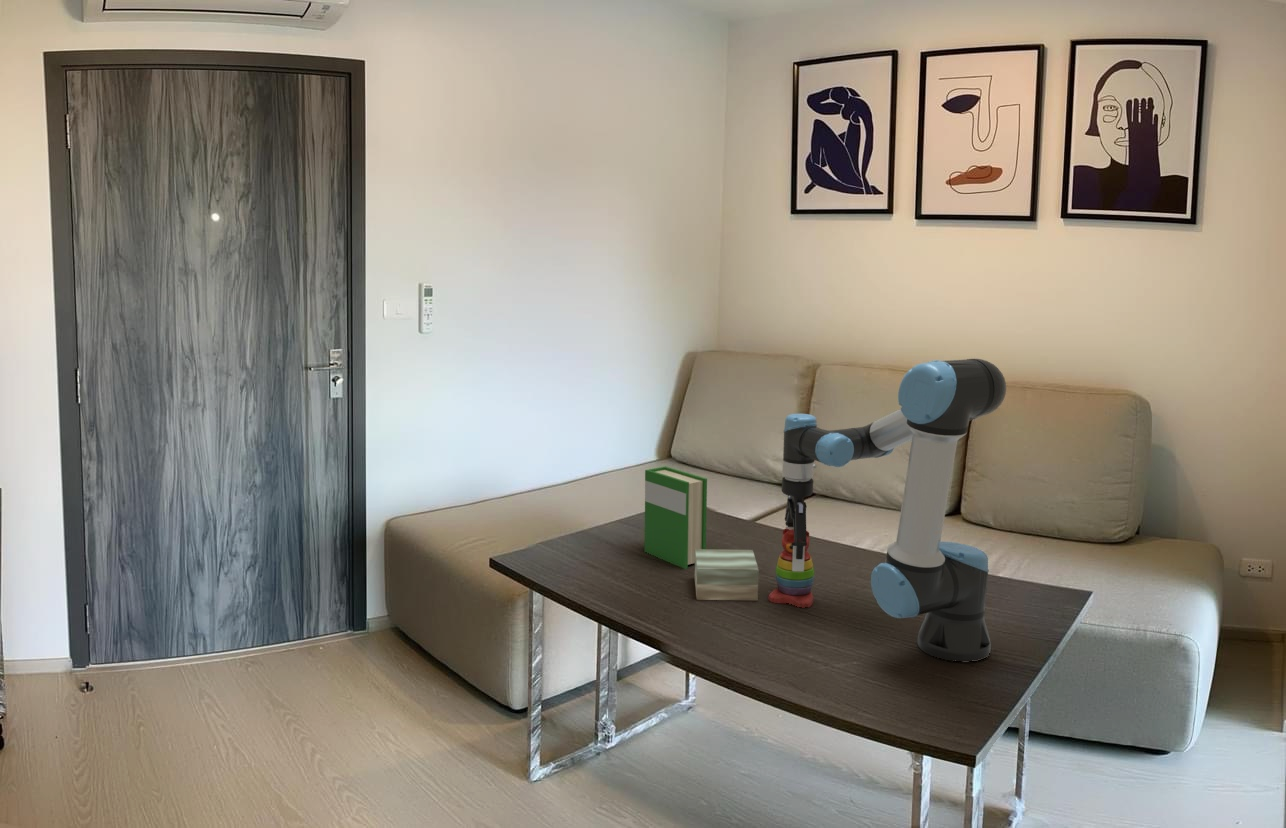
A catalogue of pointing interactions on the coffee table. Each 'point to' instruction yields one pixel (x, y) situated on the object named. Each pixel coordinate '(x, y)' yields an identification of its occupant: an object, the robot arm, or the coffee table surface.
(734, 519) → the coffee table surface
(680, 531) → the hardback book
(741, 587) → the tower base
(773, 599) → the stacking bear
